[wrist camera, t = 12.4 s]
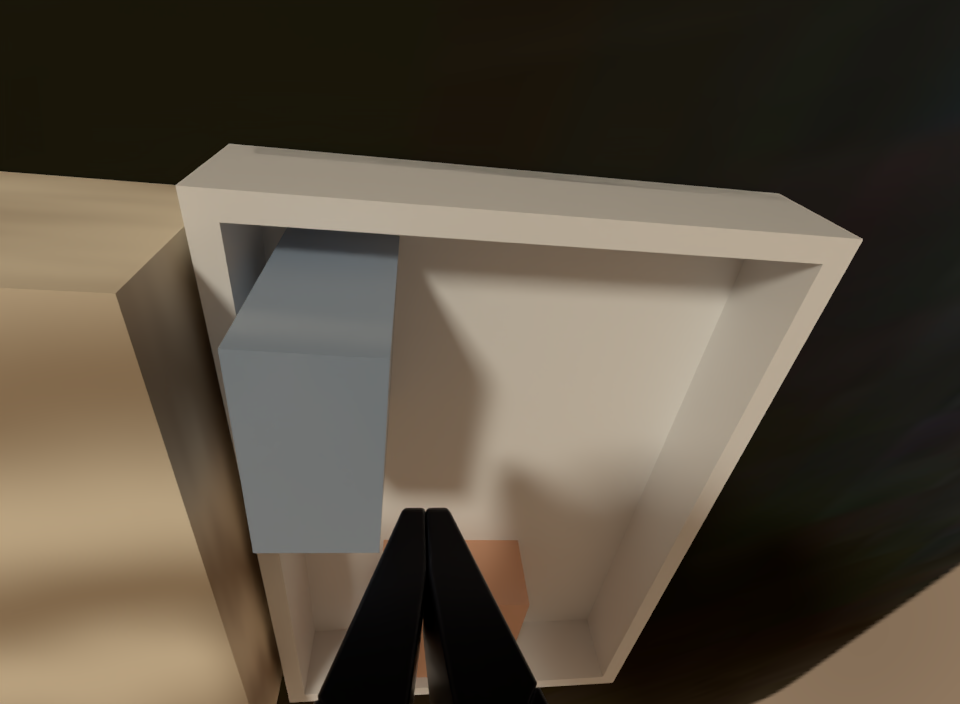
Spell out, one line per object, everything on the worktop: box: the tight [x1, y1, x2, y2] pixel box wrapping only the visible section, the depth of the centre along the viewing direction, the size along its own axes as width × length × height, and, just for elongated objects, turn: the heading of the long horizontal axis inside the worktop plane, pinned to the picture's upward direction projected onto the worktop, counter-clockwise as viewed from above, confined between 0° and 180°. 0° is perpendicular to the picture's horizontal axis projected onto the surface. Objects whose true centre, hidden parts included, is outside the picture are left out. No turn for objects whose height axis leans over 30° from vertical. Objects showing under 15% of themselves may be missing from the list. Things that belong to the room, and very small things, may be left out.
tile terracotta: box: [383, 540, 530, 678], centre depth 19 cm, size 5×5×2 cm
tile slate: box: [218, 227, 400, 553], centre depth 11 cm, size 5×5×2 cm
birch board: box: [0, 171, 283, 704], centre depth 14 cm, size 18×12×5 cm, turn 174°
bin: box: [175, 144, 863, 702], centre depth 16 cm, size 20×13×3 cm, turn 174°
